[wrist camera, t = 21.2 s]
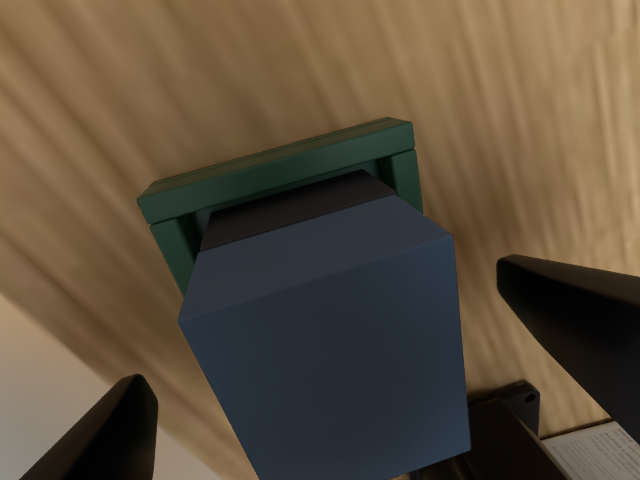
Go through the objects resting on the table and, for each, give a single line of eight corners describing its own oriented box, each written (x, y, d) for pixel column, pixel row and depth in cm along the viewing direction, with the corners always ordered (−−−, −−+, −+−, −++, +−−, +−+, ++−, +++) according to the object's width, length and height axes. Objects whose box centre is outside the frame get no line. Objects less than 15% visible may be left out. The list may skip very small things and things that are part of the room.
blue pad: (422, 370, 10) (472, 450, 8) (272, 421, 10) (279, 520, 8) (395, 193, 8) (454, 234, 6) (197, 252, 7) (176, 321, 5)
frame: (419, 327, 13) (441, 357, 12) (244, 384, 13) (244, 423, 11) (388, 116, 10) (413, 120, 9) (152, 182, 10) (134, 199, 8)
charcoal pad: (391, 318, 12) (423, 368, 10) (268, 357, 12) (273, 419, 10) (363, 168, 10) (396, 190, 8) (209, 212, 10) (198, 248, 7)
